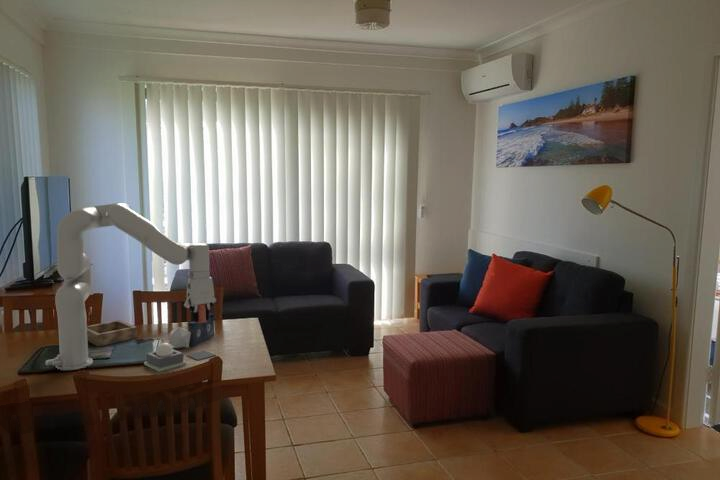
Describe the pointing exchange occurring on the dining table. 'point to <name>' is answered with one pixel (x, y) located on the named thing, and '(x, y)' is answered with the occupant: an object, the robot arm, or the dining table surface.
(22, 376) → the dining table surface
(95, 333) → the snack corral
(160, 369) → the popper base
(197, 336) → the vhs cassette tape
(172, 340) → the die
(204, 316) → the pawn
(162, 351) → the popper dome
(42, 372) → the dining table surface
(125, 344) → the dining table surface
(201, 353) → the coaster
